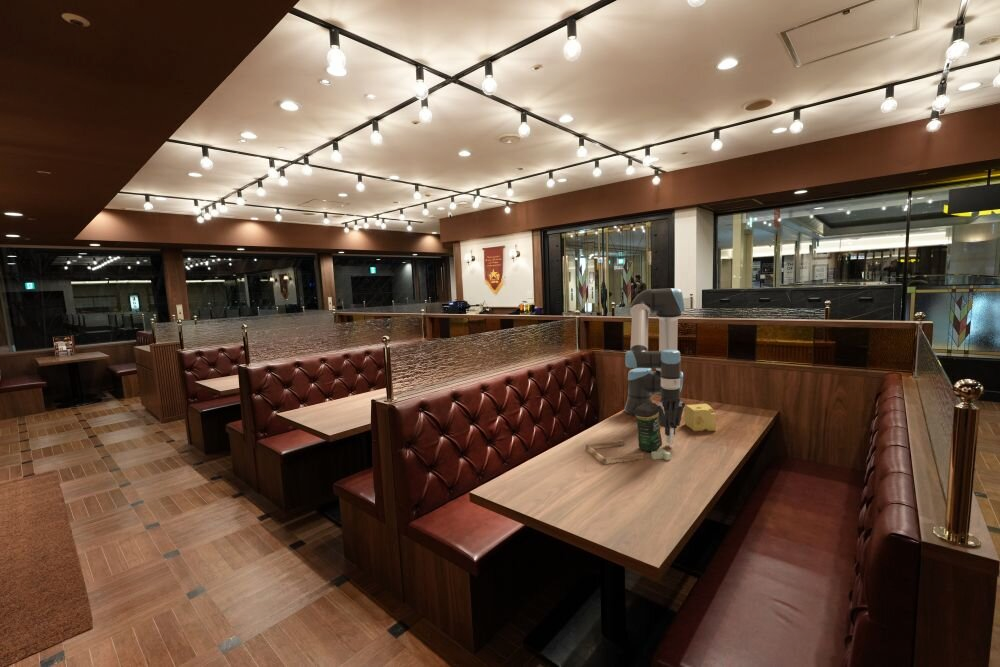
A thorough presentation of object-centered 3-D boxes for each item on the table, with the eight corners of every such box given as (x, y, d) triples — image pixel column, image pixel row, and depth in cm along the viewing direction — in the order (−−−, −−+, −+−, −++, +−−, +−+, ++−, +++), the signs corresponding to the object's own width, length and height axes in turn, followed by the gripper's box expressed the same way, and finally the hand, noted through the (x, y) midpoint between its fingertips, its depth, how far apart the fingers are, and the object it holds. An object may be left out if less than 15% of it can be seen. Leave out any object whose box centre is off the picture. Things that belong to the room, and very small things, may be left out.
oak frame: (586, 449, 181) (585, 444, 181) (622, 444, 185) (622, 439, 185) (603, 464, 166) (603, 459, 165) (643, 458, 169) (643, 453, 169)
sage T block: (648, 455, 172) (648, 449, 172) (661, 453, 174) (661, 448, 173) (657, 461, 166) (657, 455, 166) (671, 459, 168) (671, 453, 167)
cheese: (716, 431, 196) (716, 409, 195) (692, 431, 196) (692, 410, 195) (706, 423, 207) (706, 403, 205) (683, 424, 207) (683, 403, 206)
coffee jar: (653, 453, 173) (648, 410, 170) (636, 449, 179) (630, 407, 176) (665, 444, 179) (661, 402, 176) (648, 440, 185) (643, 399, 182)
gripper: (661, 391, 173) (661, 447, 176) (690, 388, 176) (689, 443, 179) (651, 386, 180) (650, 441, 183) (678, 384, 183) (677, 437, 186)
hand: (669, 442), depth 181 cm, fingers closed
